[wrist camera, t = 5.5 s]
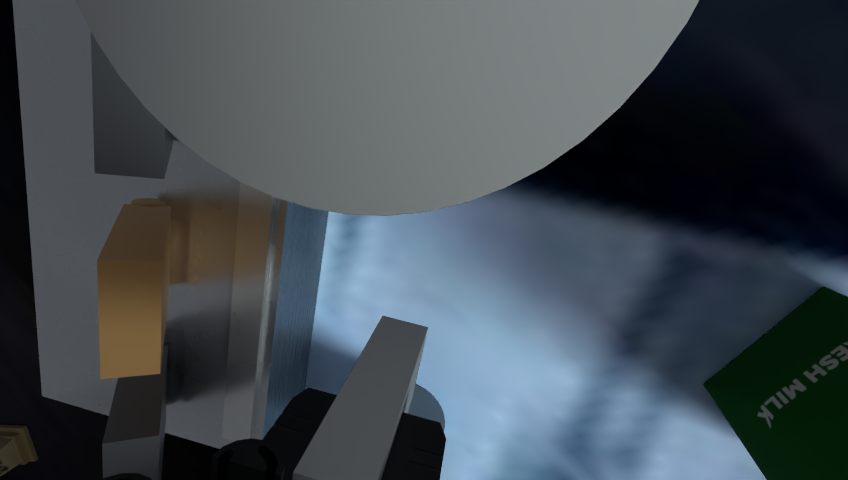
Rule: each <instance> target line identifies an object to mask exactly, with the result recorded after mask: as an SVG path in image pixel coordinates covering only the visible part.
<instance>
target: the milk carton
mask: <svg viewBox="0 0 848 480" xmlns="http://www.w3.org/2000/svg"><path fill="white" fill-rule="evenodd" d="M704 386H705V388H706V389H707V390H708V392H709V393H710V395H711V396H712V398H713V399H714V401H715V402H716V404H717V405H718V407H719V408H720V410H721V411H722V413H723V414H724V416H725V417H726V419H727V420H728V422H729V423H730V425H731V427H732V428H733V430H734V431H735V433H736V434H737V436H738V437H739V439H740V440H741V442H742V443H743V445H744V446H745V448H746V449H747V451H748V452H749V454H750V455H751V457H752V458H753V460H754V461H755V463H756V464H757V466H758V467H759V469H760V470H761V472H762V473H763V475H764V476H765V478H766V479H767V480H848V297H847V296H844V295H842V294H840V293H837V292H835V291H833V290H831V289H828V288H826V287H822V288H821V289H820V290H819V291H817V292H816V293H815V294H814V295H812V296H811V297H810V298H809V299H808V300H806V301H805V302H804V303H803V304H801V305H800V306H799V307H798V308H797V309H795V310H794V311H793V312H792V313H790V314H789V315H788V316H787V317H785V318H784V319H783V320H782V321H781V322H779V323H778V324H777V325H776V326H774V327H773V328H772V329H771V330H770V331H768V332H767V333H766V334H765V335H763V336H762V337H761V338H760V339H758V340H757V341H756V342H755V343H754V344H752V345H751V346H750V347H749V348H747V349H746V350H745V351H744V352H743V353H741V354H740V355H739V356H738V357H736V358H735V359H734V360H733V361H731V362H730V363H729V364H728V365H727V366H725V367H724V368H723V369H722V370H720V371H719V372H718V373H717V374H716V375H714V376H713V377H712V378H711V379H709V380H708V381H707V382H706V383H704Z"/></svg>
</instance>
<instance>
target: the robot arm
mask: <svg viewBox="0 0 848 480" xmlns="http://www.w3.org/2000/svg"><path fill="white" fill-rule="evenodd" d="M427 330H428V327H425V326H421V325H417V324H413V323H409V322H405V321H401V320H397V319H394V318H390V317H386V316H382V318H381V320H380V321H379V323H378V325H377V327H376V328H375V330H374V332H373V334H372V335H371V337H370V339H369V341H368V342H367V344H366V346H365V348H364V349H363V351H362V353H361V355H360V356H359V358H358V360H357V362H356V363H355V365H354V367H353V369H352V370H351V372H350V374H349V376H348V377H347V379H346V381H345V383H344V384H343V386H342V388H341V390H340V391H339V393H338V395H334V394H330V393H327V392H323V391H319V390H316V389H312V388H307V389H306V390H304V391H303V392H301V393H299V394H298V395H296V396H294V397H293V398H292V399H291V401H290V402H289V403H288V405H287V406H286V408H285V409H284V410H283V412H282V415H281V414H280V416H279V417H278V419H277V420H276V421H275V423H274V425H273V426H272V427H271V428H270V430H269V431H268V432H267V434H266V435H265V437H264V438H263V439H262V440H260V439H253V438H250V439H243V440H237V441H234V442H232V443H230V444H227V445H225V446H223V447H222V448H221V449H219V450H218V451H217V452H216V453H215V454H213V455H212V464H211V479H210V480H440V474H441V467H442V461H443V455H444V449H445V442H446V438H445V435H444V432H443V429H442V426H441V423H440V422H436V421H433V420H429V419H426V418H422V417H418V416H415V415H411V414H408V411H409V407H410V404H411V401H412V397H413V393H414V388H415V384H416V379H417V375H418V370H419V366H420V361H421V357H422V352H423V348H424V343H425V339H426V334H427ZM101 480H152V479H151V478H150V477H147V476H145V475H142V474H139V473H121V474H117V475H113V476H109V477H105V478H103V479H101Z"/></svg>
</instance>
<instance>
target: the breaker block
mask: <svg viewBox="0 0 848 480" xmlns="http://www.w3.org/2000/svg"><path fill="white" fill-rule="evenodd" d="M13 13H14V26H15V39H16V53H17V66H18V80H19V93H20V106H21V120H22V133H23V147H24V160H25V173H26V187H27V200H28V214H29V227H30V240H31V254H32V267H33V281H34V294H35V307H36V321H37V334H38V348H39V361H40V374H41V388H42V396H44V397H47V398H50V399H54V400H57V401H60V402H64V403H67V404H70V405H74V406H77V407H81V408H84V409H87V410H91V411H94V412H97V413H101V414H104V415H107V416H109V413H110V409H111V405H112V401H113V396H114V392H115V388H116V384H117V380H118V378H109V379H100V350H99V314H98V278H97V259H98V257H99V255H100V253H101V251H102V249H103V246H104V244H105V242H106V240H107V238H108V236H109V234H110V232H111V230H112V228H113V226H114V223H115V221H116V219H117V217H118V215H119V213H120V211H121V209H122V207H123V205H124V204H131V201H132V200H134V199H139V198H153V199H159V200H163V201H165V202H166V206H170V207H171V240H170V280H169V301H168V310H167V319H166V328H165V337H164V345H163V346H168V359H167V399H166V425H165V433H168V434H171V435H175V436H178V437H181V438H185V439H188V440H192V441H195V442H198V443H202V444H205V445H208V446H212V447H215V448H218V449H221V448H222V447H223V446H225V445H227V444H230V443H232V442H234V441H237V440H243V439H250V438H253V439H260V440H262V439H263V438H264V437H265V435H266V434H267V432H268V431H269V430H270V428H271V427H272V426H273V425H274V423H275V421H276V420H277V419H278V417H279V416H280V414H281V415H282V412H283V410H284V409H285V408H286V406H287V405H288V403H289V402H290V401H291V399H292V398H293V397H294V396H296V395H298V394H299V393H301V392H303V391H304V388H305V380H306V373H307V366H308V358H309V351H310V343H311V336H312V329H313V321H314V314H315V306H316V299H317V291H318V284H319V277H320V269H321V262H322V254H323V247H324V240H325V232H326V225H327V217H328V211H325V210H319V209H313V208H309V207H305V206H302V205H299V204H296V203H292V202H289V201H286V200H282V199H279V198H276V197H273V196H271V195H269V194H267V193H264V192H262V191H260V190H258V189H255V188H253V187H251V186H249V185H246V184H244V183H242V182H240V181H238V180H236V179H235V178H233V177H231V176H230V175H228V174H227V173H225V172H223V171H222V170H220V169H218V168H217V167H215V166H213V165H212V164H210V163H208V162H207V161H205V160H204V159H203V158H202V157H200V156H199V155H198V154H196V153H195V152H194V151H193V150H191V149H190V148H189V147H187V146H186V145H185V144H184V143H182V142H181V141H180V140H178V139H177V138H176V137H175V136H174V135H173V146H172V150H171V154H170V158H169V162H168V166H167V170H166V174H165V178H164V179H155V178H144V177H132V176H120V175H108V174H96V173H95V169H94V133H93V97H92V61H91V30H90V28H89V27H88V25H87V23H86V21H85V19H84V17H83V15H82V13H81V11H80V9H79V8H78V6H77V4H76V2H75V0H13Z"/></svg>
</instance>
